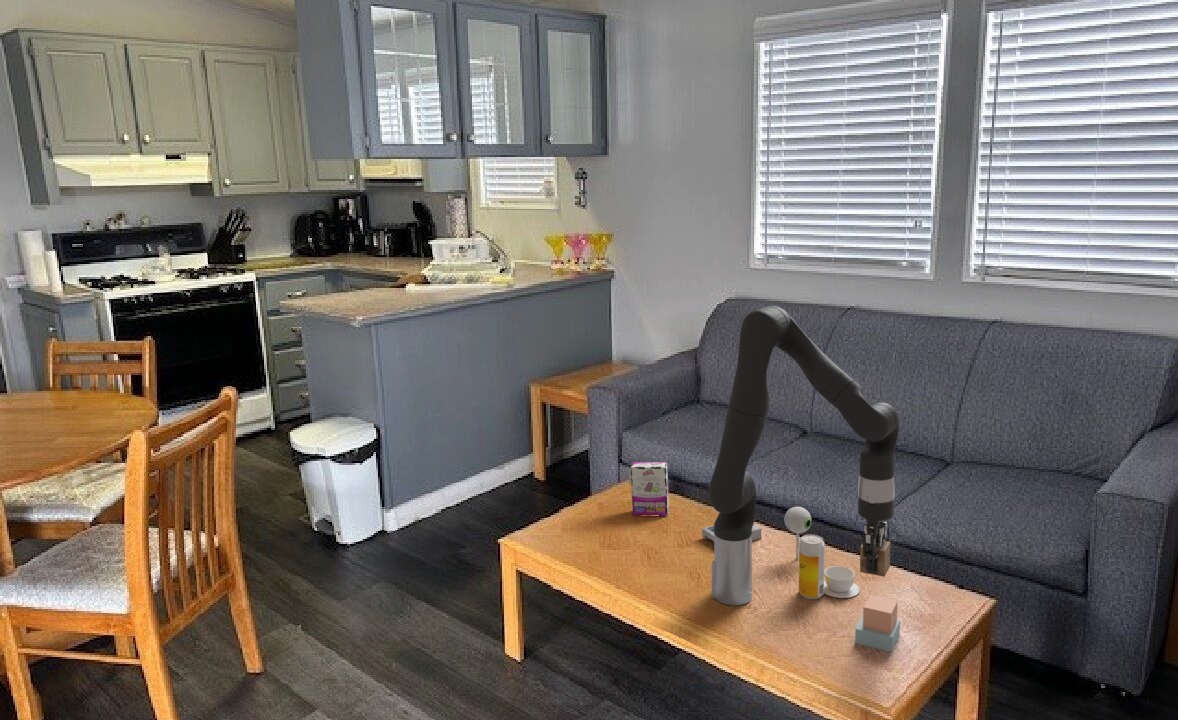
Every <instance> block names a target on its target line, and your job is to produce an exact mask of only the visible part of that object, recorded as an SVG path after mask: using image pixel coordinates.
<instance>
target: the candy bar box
mask: <svg viewBox="0 0 1178 720" xmlns="http://www.w3.org/2000/svg"><path fill="white" fill-rule="evenodd" d="M668 477H669V476H668V462H665V461H662V462H656V461H655V462H654V461H653V462H647V461H645V462H643V461H641V462H640V461H635V462H634V461H633V462H632V464H631V466H630V479H631V480H630V482H631V483H630V484H631V504H632V516H633V515H659V516H658V517H664V516H666V515H667V517H668V516H669V512H670V511H669V510H670V506H669V502H670V501H669V479H668ZM668 511H669V512H668Z"/></svg>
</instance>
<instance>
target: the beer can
mask: <svg viewBox="0 0 1178 720" xmlns="http://www.w3.org/2000/svg"><path fill="white" fill-rule="evenodd" d="M825 547H826V543H825V542H824V538H823V537H821V536H820V535H817V534H805V535H802V536H801V538H800V539H799V559H798V593H799V594H800V595H801V596H802V597H803V598H805V599H808V600H817V599H818V600H819V599H820V598H821V597H822V596H823V595H824V594H825V593H824V580H825V575H824V571H825V555H826V554H825V552H826V551H825V549H826V548H825Z"/></svg>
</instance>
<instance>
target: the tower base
mask: <svg viewBox="0 0 1178 720" xmlns="http://www.w3.org/2000/svg"><path fill="white" fill-rule="evenodd" d="M900 629H901V619H898V618H897V622H896V624H895V626H894V628H893V630H892V632H891V634H889V633H885V632H881V631H877V630H873V629H869V628H865V627H863V614H862V615H861V617H860V618H859V621H858V623H857V626H856V627H855V633H854V635H855V637H854V638H855V640H854V644H858V645H861V646H866V647H870V648H873V649H878V650H882V651H886V652H890V653H893V651H894V649H895V648H896V647H895V646H896V644H897V642H898V639H899V637H900Z"/></svg>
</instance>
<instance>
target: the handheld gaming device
mask: <svg viewBox="0 0 1178 720" xmlns="http://www.w3.org/2000/svg"><path fill="white" fill-rule="evenodd" d="M701 531H702V532H701V533H702V535H701V536H702V538H703V539H704V540H708V538H709V540H711V541H712V542H714V525H710V526H706V527H703V528H702V529H701ZM759 539H762V528H761V527H759V526H758V525H756V524H755V523H754V524H753V527H752V541H756V540H759Z"/></svg>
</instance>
